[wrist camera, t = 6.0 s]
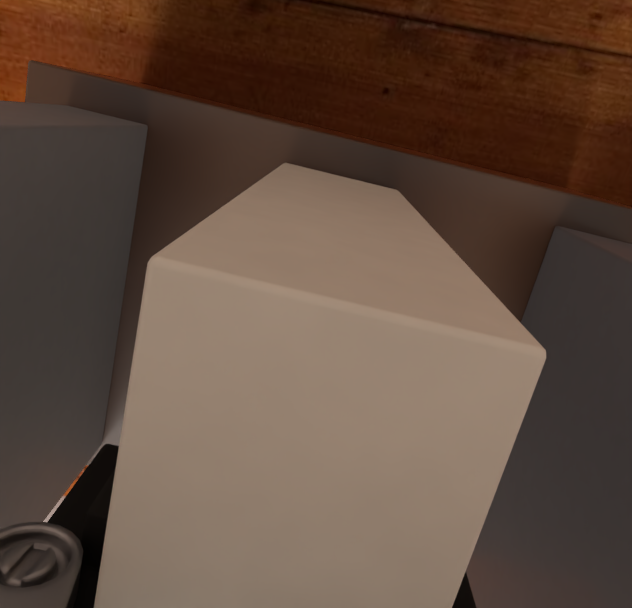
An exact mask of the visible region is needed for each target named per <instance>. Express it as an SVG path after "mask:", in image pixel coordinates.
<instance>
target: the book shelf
mask: <svg viewBox="0 0 632 608" xmlns="http://www.w3.org/2000/svg"><path fill="white" fill-rule="evenodd" d="M25 103H39V104H53V105H67V106H71V107H75V108H80V109H84V110H88V111H92V112H96V113H100V114H104V115H108V116H112V117H116V118H120V119H124V120H128V121H133V122H137V123H141V124H145V125H147V126H148V130H147V137H146V144H145V151H144V158H143V165H142V171H141V178H140V185H139V192H138V199H137V206H136V213H135V220H134V226H133V233H132V240H131V247H130V254H129V261H128V268H127V275H126V281H125V288H124V295H123V302H122V309H121V316H120V323H119V330H118V336H117V343H116V350H115V357H114V364H113V371H112V378H111V385H110V391H109V398H108V405H107V412H106V419H105V426H104V433H103V439H102V444H101V446H100V447H99V448H98V450H97V451H96V452H95V454H94V455H93V456H92V458H91V459H90V460H89V462H88V463H87V464H86V465H89V464H90V463H91V462H92V460H93V459H94V458H95V456H96V455H97V453H98V452H99V451H100V449H101V448H102V447H103V446H104V445H105V444H112V445H117V446H119V443H120V436H121V430H122V424H123V417H124V411H125V404H126V398H127V392H128V385H129V379H130V372H131V366H132V359H133V353H134V347H135V340H136V334H137V327H138V321H139V315H140V308H141V302H142V295H143V289H144V283H145V276H146V270H147V263H148V262H149V260H150V259H151V257H152V256H153V255H155V254H156V253H158V252H159V251H161V250H162V249H163V248H165V247H166V246H168V245H169V244H170V243H172V242H173V241H175V240H176V239H177V238H179V237H180V236H182V235H183V234H185V233H186V232H187V231H189V230H190V229H192V228H193V227H194V226H196V225H197V224H199V223H200V222H201V221H203V220H204V219H206V218H207V217H209V216H210V215H211V214H213V213H214V212H216V211H217V210H218V209H220V208H221V207H223V206H224V205H225V204H227V203H228V202H230V201H231V200H233V199H234V198H235V197H237V196H238V195H240V194H241V193H242V192H244V191H245V190H247V189H248V188H249V187H251V186H252V185H254V184H255V183H257V182H258V181H259V180H261V179H262V178H264V177H265V176H266V175H268V174H269V173H271V172H272V171H273V170H275V169H276V168H278V167H279V166H281V165H282V164H283V163H289V164H293V165H297V166H301V167H305V168H309V169H314V170H318V171H322V172H326V173H330V174H334V175H338V176H342V177H346V178H350V179H354V180H359V181H363V182H367V183H371V184H375V185H379V186H383V187H387V188H391V189H395V190H398V191H399V192H400V193H401V194H402V195H403V196H404V197H405V199H406V200H407V201H408V202H409V203H410V204H411V205H412V206H413V207H414V208H415V209H416V210H417V212H418V213H419V214H420V215H421V216H422V217H423V218H424V219H425V220H426V221H427V222H428V223H429V224H430V226H431V227H432V228H433V229H434V230H435V231H436V232H437V233H438V234H439V235H440V236H441V237H442V239H443V240H444V241H445V242H446V243H447V244H448V245H449V246H450V247H451V248H452V249H453V250H454V252H455V253H456V254H457V255H458V256H459V257H460V258H461V259H462V260H463V261H464V262H465V263H466V264H467V266H468V267H469V268H470V269H471V270H472V271H473V272H474V273H475V274H476V275H477V276H478V277H479V279H480V280H481V281H482V282H483V283H484V284H485V285H486V286H487V287H488V288H489V289H490V290H491V291H492V293H493V294H494V295H495V296H496V297H497V298H498V299H499V300H500V301H501V302H502V303H503V304H504V306H505V307H506V308H507V309H508V310H509V311H510V312H511V313H512V314H513V315H514V316H515V317H516V318H517V320H518V321H519V322H520V323H521V321H522V318H523V315H524V312H525V309H526V307H527V304H528V301H529V298H530V295H531V293H532V290H533V287H534V284H535V282H536V279H537V276H538V273H539V270H540V268H541V265H542V262H543V259H544V256H545V254H546V251H547V248H548V245H549V242H550V240H551V237H552V234H553V231H554V229H555V227H556V226H560V227H564V228H568V229H573V230H577V231H581V232H585V233H589V234H593V235H597V236H601V237H605V238H609V239H613V240H617V241H621V242H626V243H630V244H632V206H628V205H624V204H621V203H617V202H614V201H610V200H607V199H603V198H600V197H596V196H593V195H589V194H585V193H582V192H578V191H575V190H571V189H568V188H564V187H560V186H556V185H552V184H548V183H544V182H540V181H536V180H532V179H528V178H523V177H519V176H515V175H511V174H507V173H503V172H499V171H495V170H491V169H487V168H483V167H479V166H475V165H471V164H467V163H463V162H459V161H455V160H451V159H447V158H443V157H438V156H434V155H430V154H426V153H422V152H418V151H414V150H410V149H406V148H402V147H398V146H394V145H390V144H386V143H382V142H378V141H374V140H370V139H366V138H362V137H357V136H353V135H349V134H345V133H341V132H337V131H333V130H329V129H325V128H321V127H317V126H313V125H309V124H305V123H301V122H297V121H293V120H289V119H285V118H281V117H277V116H272V115H268V114H264V113H260V112H256V111H252V110H248V109H244V108H240V107H236V106H232V105H228V104H224V103H220V102H216V101H212V100H208V99H204V98H200V97H196V96H192V95H187V94H183V93H179V92H175V91H171V90H167V89H163V88H159V87H155V86H151V85H147V84H143V83H138V82H134V81H129V80H124V79H119V78H114V77H110V76H105V75H100V74H95V73H90V72H86V71H81V70H76V69H71V68H66V67H62V66H57V65H52V64H47V63H42V62H38V61H33V60H31V61H29V63H28V75H27V87H26V98H25Z"/></svg>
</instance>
